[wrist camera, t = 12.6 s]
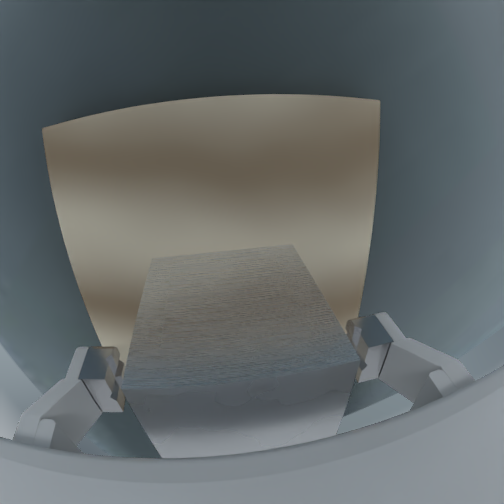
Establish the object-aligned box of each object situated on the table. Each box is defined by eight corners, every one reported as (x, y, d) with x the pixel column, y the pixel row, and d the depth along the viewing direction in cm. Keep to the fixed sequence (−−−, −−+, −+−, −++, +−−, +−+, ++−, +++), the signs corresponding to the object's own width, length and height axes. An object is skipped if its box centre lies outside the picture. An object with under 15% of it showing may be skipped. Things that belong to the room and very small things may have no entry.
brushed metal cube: (152, 258, 11) (121, 389, 6) (292, 244, 11) (360, 359, 6) (176, 358, 13) (175, 476, 8) (288, 345, 14) (327, 456, 9)
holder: (56, 125, 9) (-41, 151, 4) (364, 99, 10) (468, 109, 5) (141, 405, 16) (136, 486, 11) (332, 382, 18) (364, 456, 13)
